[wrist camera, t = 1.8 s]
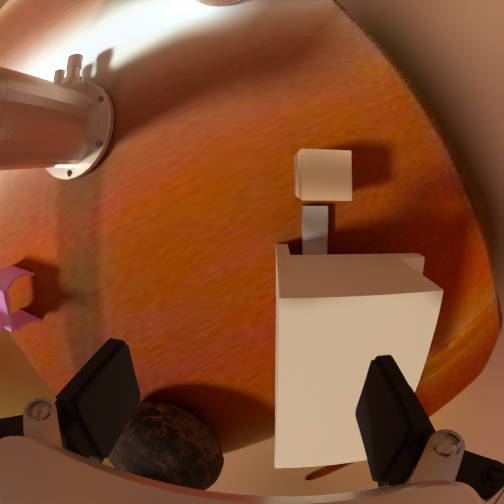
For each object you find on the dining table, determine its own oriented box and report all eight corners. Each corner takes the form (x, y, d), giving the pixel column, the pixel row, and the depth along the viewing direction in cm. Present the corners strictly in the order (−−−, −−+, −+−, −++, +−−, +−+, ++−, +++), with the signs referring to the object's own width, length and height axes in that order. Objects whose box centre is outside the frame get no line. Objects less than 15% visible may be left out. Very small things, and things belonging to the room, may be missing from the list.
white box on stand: (275, 243, 30) (279, 298, 16) (399, 242, 29) (474, 287, 15) (275, 380, 34) (274, 468, 20) (377, 373, 33) (411, 449, 20)
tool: (293, 156, 27) (301, 148, 20) (332, 157, 27) (351, 150, 20) (292, 335, 32) (297, 371, 25) (326, 334, 32) (337, 369, 25)
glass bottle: (105, 406, 39) (33, 523, 12) (162, 365, 35) (70, 543, 8) (181, 462, 41) (145, 580, 14) (251, 434, 37) (233, 595, 10)
